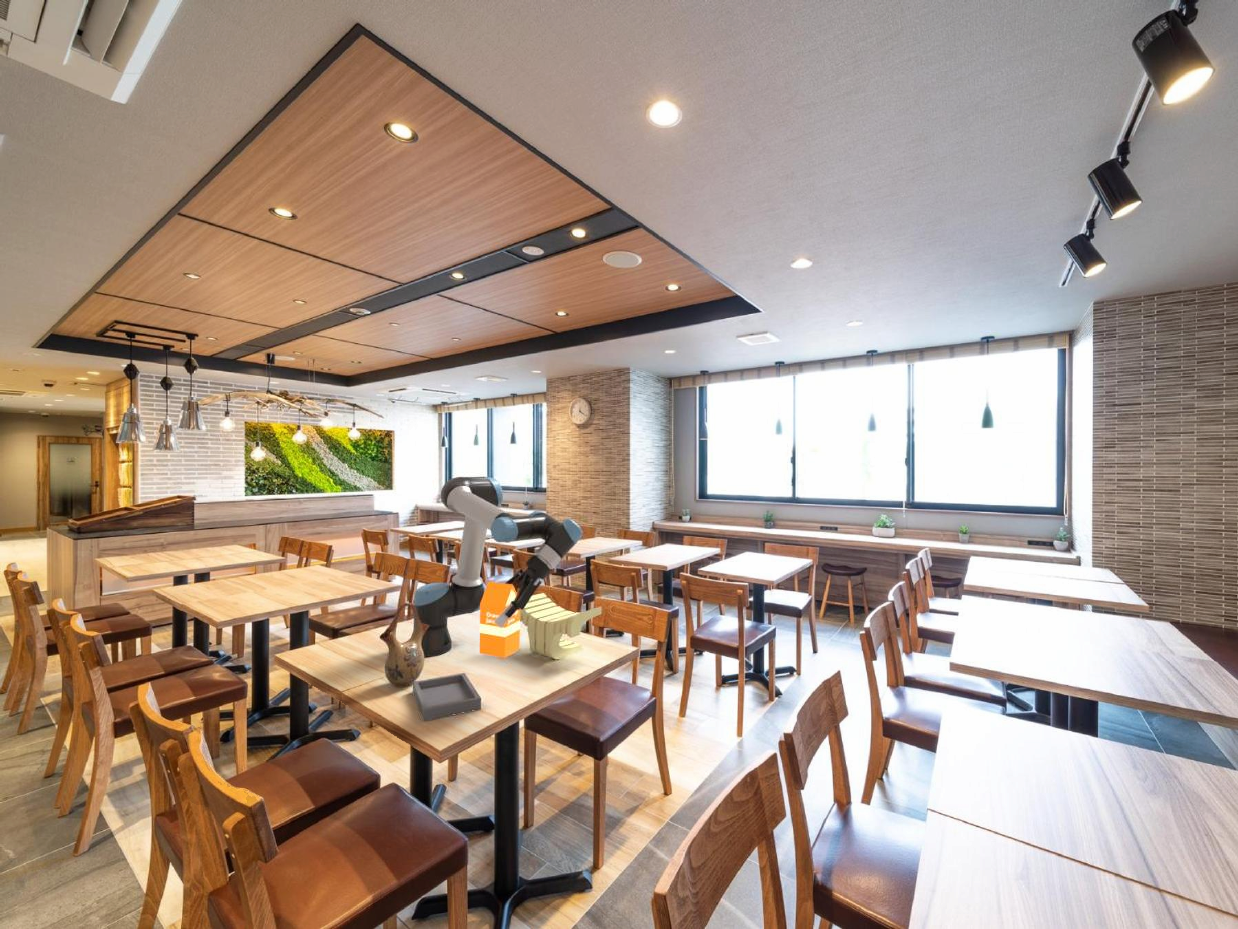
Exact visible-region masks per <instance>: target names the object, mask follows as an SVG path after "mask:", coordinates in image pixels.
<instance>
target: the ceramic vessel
mask: <svg viewBox="0 0 1238 929" xmlns="http://www.w3.org/2000/svg"><path fill="white" fill-rule="evenodd" d="M407 607H410V608H411V610H412V614H413V622H414V621H415V629H414V628H413V629H414V633H413V632H412V633H413V635H412V634H411V636H412V637H411V636H410V638H409V639H407V640H406V641H404V642H399V641H398V639H397V636H396V634H397V626H398V621H399V619H400V616H401V612H402V610H403V609H404V608H407ZM429 626H430V625H427V624H423V623H421V621H420V619H419V617H418V614H417V611H416V608H415V606H414V603H411V602H404V603H402V604H401V605H399V607H398V608H397V610H396V613H395V615H394V617H393V618H392V621H391V622H390V624H389V625H388V627H387V628H386V629H385V631H384V632H383V633H381V634H380V635H379V639H380V640H381V641H383V642H384V643H385V644H386V646H387V648H388V654H387V656H386V659H385V662H384V673H385V677H386V679H387V681H388V682H389V683H390V684H391V685H392V686H393V687H397V688H404V687H407V686H411V685H413V682H416V680H417V679H418V678H419V677H420V675H421V674H422V672H423V670H424V666H425V657H424V652H423V650H422V647H421V641H422V637H423V635H424V633H425V632H426V630H427V629H428V628H429Z"/></svg>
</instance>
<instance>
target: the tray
mask: <svg viewBox="0 0 1238 929" xmlns="http://www.w3.org/2000/svg"><path fill="white" fill-rule="evenodd" d="M412 693H413V696H414V699H415V702H416V705H417V707H418V709H419V713H420V712H421V713H420V715H422V716H421V718H422V721H423V722H427V721H432V720H431V719H433V720H437V718H438V719H442V718H445V717H444V716H447V717H451V716H450V715H452V716H454V715H453V714H456V715H460V714H459V713H461V714H463V713H462V712H466V713H469V712H468V711H470V712H473V711H472V710H475V711H480V710H481V709H482V697H481V696H480V695H479V693H478V691H477V690H476V688H475V687H474V685H473V684H472V682H471V680H470V679H469V677H468V676H467V674H466V672H463V673H456V674H451V675H445V676H439V677H433V678H428V679H422V680H417V681H416V680H415V681H414V682H413V683H412ZM479 709H480V710H479ZM441 717H442V718H441Z"/></svg>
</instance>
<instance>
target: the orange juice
mask: <svg viewBox="0 0 1238 929" xmlns="http://www.w3.org/2000/svg"><path fill="white" fill-rule="evenodd" d="M517 593H518V592H517V590H516V591H515V589H514V586H513V585H512V584H505V583H504V582H502V583H501V582H495V581H488V583H487V585H486V590H485V592H484V595H483V598H482V600H481V603H480V610H479V654H482V655H487V656H491V657H496V658H502V659H505V658H507V657H509V656H511V655H512V654H514V653H516V652H517V651H519V650H520V646H521V645H520V637H521V636H520V635H521V622H520V609H519V610H518V609H517V611H516V612H515V613H514V614H513V615H512V617H511V618H510V619H509V620H508V621H507V622H506V623H505V625H504V626H503V627H502V628H500V627H499V626H498V625H497V624H496V623H495V622H494V621H495V620H496V619H497V618H498V616H499V615H500V614H501V613H502V612H503V611H504V610H505V609H506V607H507V606H508V605H509V604H510V602H511V601H514V599H515V597H516V595H517Z"/></svg>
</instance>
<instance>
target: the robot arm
mask: <svg viewBox="0 0 1238 929" xmlns="http://www.w3.org/2000/svg"><path fill="white" fill-rule="evenodd" d="M503 498H504V494H503V488H502V486H501V484H500V482H499V481H498V479H496V478H494V477H488V476H456V477H453V478H451V479H448V481H446V482H445V483H444V485H443V486H442V488H441V491H440V500H441V502H442V504H443V505H444V506H445V508H446V509H448V510H449V511H452V513H461V514H462V515H464V516H465V517H464V518H465V519H464V523H463V529H462V530H463V531H462V535H461V536H462V538H461V542H460V549H459V550H460V551H459V556H458V557H459V558H458V564H457V569H456V573H455V575H453V576H452V577H451V582H450V584H448V583H447V582H443V581H442V582H440V581H439V582H436V583H435V582H431V583H428V584H427V583H426V584H423V585H421V586H419V587H418V588H417V589H416V590H415V592H414V600H413V605H414V606H415V608H416V611H417V614H418V617H419V619H420V621H421V623H423V624H427V625H430V626H429V628H428V629H427V630H426V632H425V633H424V635H423V637H422V641H421V647H422V650H423V652H424V658H425V657H435V656H439V655H442V654H445V653H447V652H449V651H451V650H452V649H453V648H452V647H453V641H452V638H451V635H450V631H449V628H448V618H452V617H457V616H462V615H466V614H472V613H475V612H478V611H480V603H481V600H482V598H483V595H484V592H485V590H486V587H487V585H486V583H485V582H484V580H483V578H482V577H481V569H482V563H483V556H484V550H485V544H486V538H487V531H488V530H489V531H490V534H491V536H492V537H493V540H494V541H495V542H497V543H506V544H507V543H513V542H519V541H521V542H522V541H528V540H529V541H530V540H537V539H538V540H539V539H541V540H543V541H544V542H543V543H542V544H541V545H540V546H539V547H538V549H536V551H535V553H534V554H533V555H531V556H530V557H529V559H528V560H527V561H526V562H525V566H526V567H527V568H526V569H525V570H524V568H520V569H519V570H518V571H517V572H516V573H515V574H514V575H513V576H511V577H510V578H509V579H508V580H506V582H505V583H504V584H512V585H513V586H514V589H515V591H516V593H517V595H516V597H515V599H514V601H511V602H510V604H509V605H508V606H507V607H506V609H505V610H504V611H503V612H502V613H501V614H500V615H499V616H498V618H497V619H496V620H495V621H494V622H495V623H496V624H497V625H498V626H499V627H500V628H502V627H503V626H504V625H505V623H506V622H507V621H508V620H509V619H510V618H511V617H512V615H513V614H514V613H515V612H516V611H517V609H518V610H519V609H521V610H523V609H524V608H525V606H526V604H527V603H528V601H529V600H530V598H531V597H532V596H533V595H534V593H535V592H536V591H537V589H538V587H540V585H541V584H542V581H541V580H545V579H546V578H547V577H548V575H549V574H550V573H551V572H552V571H551V570H554V568H556V567H557V566H558V565H559V563H560V562H561V560H563V558H564V557H565V556H566V555H567V554H568V553H569V551H571V550H572V548H574V547H575V545H577V543H578V542H579V540H581V538H582V537H583V535H584V534H583V533H584V531H583V530H582V528H581V526H580V525H579V524H578V523H576V521H574V520H573V519H571V518H566V519H564V520H563V521H562V522H560V521H559V520H557V519H556V518H553V516H551V515H550V514H548V513H546V512H543V511H541V510H534V511H533V512H531V513H530V514H528V515H522V516H517V515H514V514H511V513H508V512H507V511H505V510H503V509H502V508H500V506H501V505H502V503H503V501H504V500H503ZM540 579H541V580H540ZM518 589H519V590H518ZM517 590H518V591H517ZM414 629H415V621H414V620H413V630H412V632H411V635H410V638H411V637H412V635H413V633H414Z"/></svg>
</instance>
